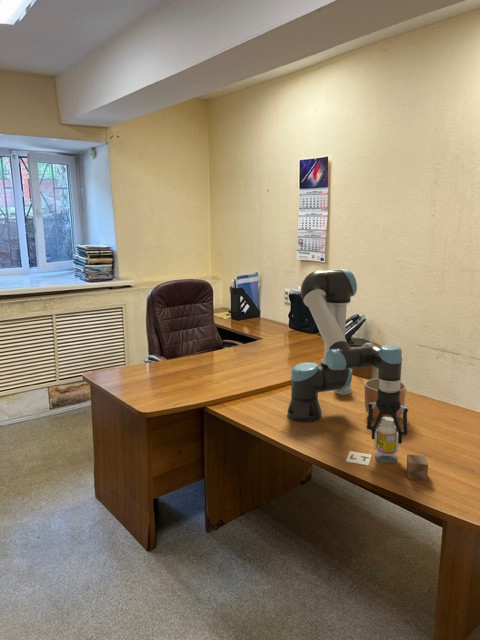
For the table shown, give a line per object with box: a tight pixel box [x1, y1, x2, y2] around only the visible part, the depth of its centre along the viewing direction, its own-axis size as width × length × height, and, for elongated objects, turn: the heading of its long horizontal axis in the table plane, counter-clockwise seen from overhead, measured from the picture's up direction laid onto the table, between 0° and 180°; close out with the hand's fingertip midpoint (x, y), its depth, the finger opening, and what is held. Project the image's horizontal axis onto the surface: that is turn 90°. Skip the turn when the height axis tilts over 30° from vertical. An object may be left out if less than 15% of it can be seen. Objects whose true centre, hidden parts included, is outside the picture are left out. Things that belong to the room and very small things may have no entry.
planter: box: [364, 378, 407, 422], centre depth 203 cm, size 17×17×15 cm
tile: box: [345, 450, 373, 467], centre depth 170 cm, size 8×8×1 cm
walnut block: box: [405, 454, 429, 482], centre depth 158 cm, size 6×6×6 cm
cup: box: [333, 368, 353, 396], centre depth 234 cm, size 10×9×12 cm
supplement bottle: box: [376, 417, 398, 456], centre depth 168 cm, size 7×7×13 cm
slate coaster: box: [374, 451, 398, 464], centre depth 170 cm, size 8×8×1 cm
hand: (386, 449), depth 169 cm, fingers closed on supplement bottle, 7 cm apart
